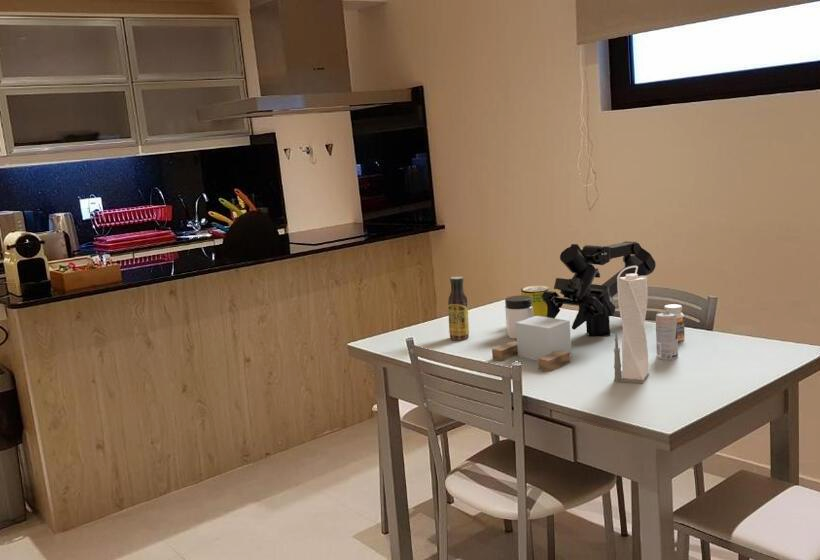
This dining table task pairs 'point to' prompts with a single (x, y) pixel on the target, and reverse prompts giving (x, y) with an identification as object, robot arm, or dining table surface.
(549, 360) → the pair of brown bars
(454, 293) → the sauce bottle
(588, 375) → the dining table surface
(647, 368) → the skyscraper
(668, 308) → the pill bottle
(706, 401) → the dining table surface
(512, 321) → the jar
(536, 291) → the yellow can
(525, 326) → the block
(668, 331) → the energy drink
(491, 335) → the dining table surface
